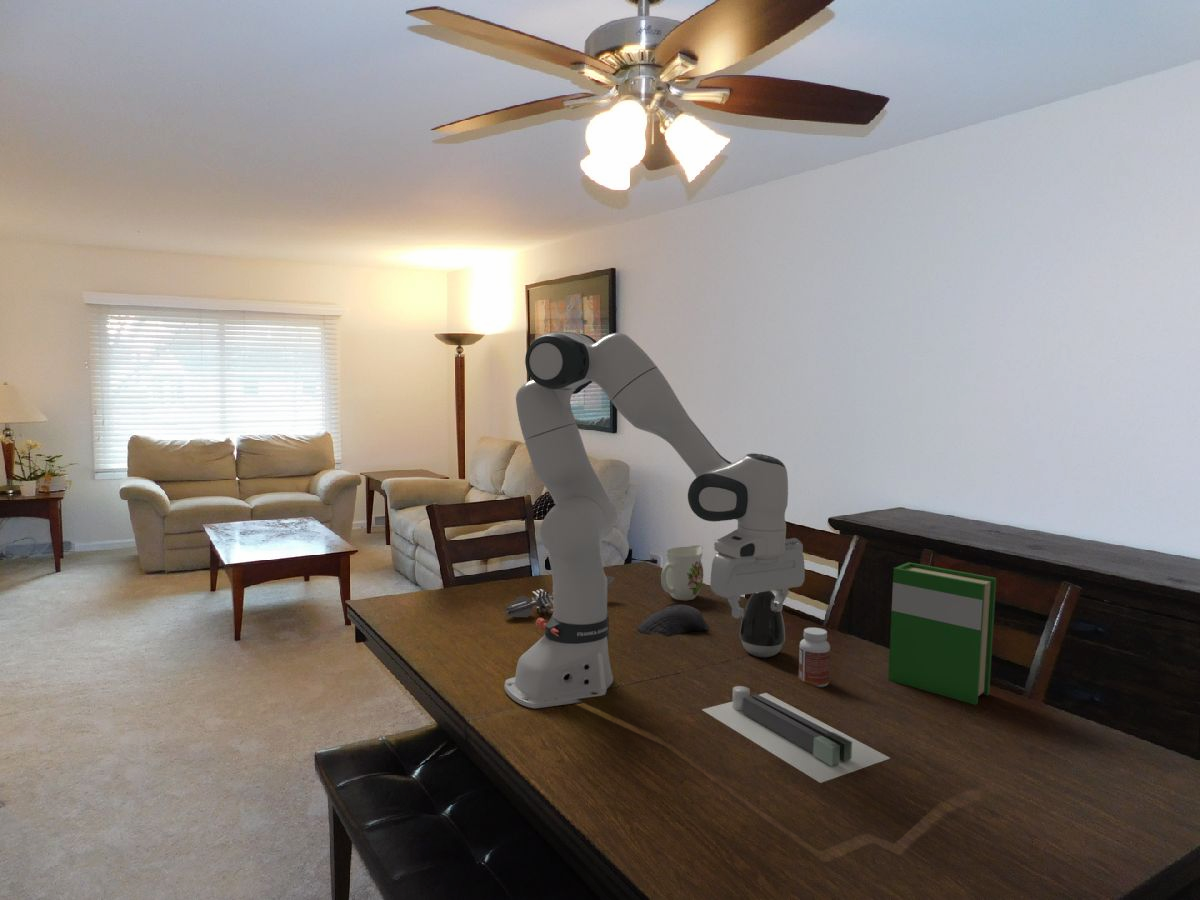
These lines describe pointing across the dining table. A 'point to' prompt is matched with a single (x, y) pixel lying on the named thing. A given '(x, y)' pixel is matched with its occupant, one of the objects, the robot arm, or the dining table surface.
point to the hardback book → (942, 631)
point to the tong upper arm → (813, 728)
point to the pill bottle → (814, 657)
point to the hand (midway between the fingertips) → (757, 613)
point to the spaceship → (534, 603)
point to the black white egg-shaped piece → (762, 626)
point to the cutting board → (789, 749)
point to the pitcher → (683, 572)
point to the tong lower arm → (786, 726)
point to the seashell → (674, 621)
